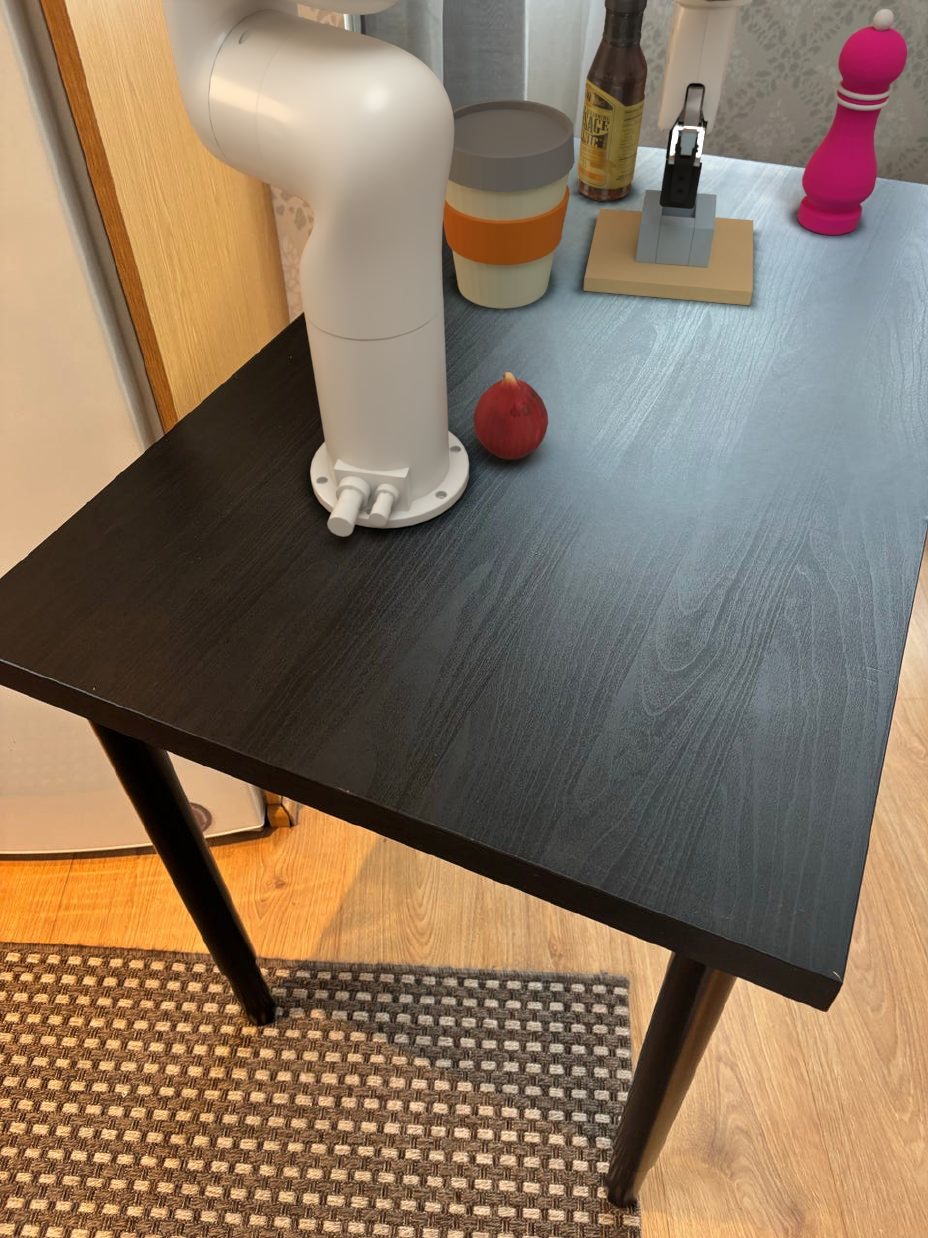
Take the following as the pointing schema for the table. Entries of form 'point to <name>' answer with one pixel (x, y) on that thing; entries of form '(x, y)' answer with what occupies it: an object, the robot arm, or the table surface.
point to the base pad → (623, 275)
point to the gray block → (676, 231)
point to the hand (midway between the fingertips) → (679, 182)
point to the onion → (510, 418)
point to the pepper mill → (852, 130)
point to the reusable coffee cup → (507, 198)
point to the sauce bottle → (613, 104)
